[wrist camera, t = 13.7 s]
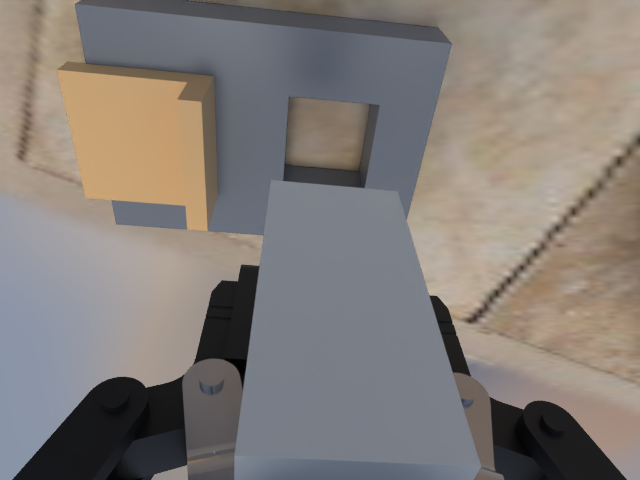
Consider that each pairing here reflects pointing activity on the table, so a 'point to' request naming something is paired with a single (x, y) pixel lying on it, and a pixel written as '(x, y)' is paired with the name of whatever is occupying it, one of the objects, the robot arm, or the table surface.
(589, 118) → the table surface
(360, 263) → the plug
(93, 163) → the tan l-shaped block
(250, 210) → the socket plate
